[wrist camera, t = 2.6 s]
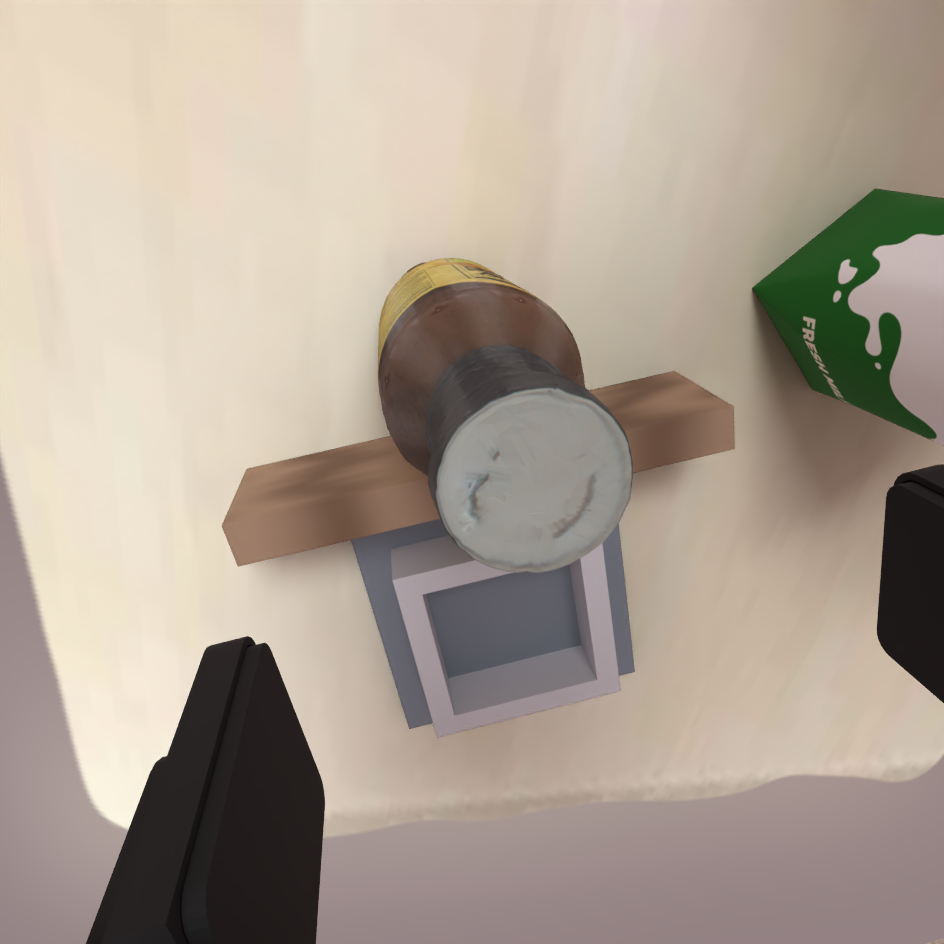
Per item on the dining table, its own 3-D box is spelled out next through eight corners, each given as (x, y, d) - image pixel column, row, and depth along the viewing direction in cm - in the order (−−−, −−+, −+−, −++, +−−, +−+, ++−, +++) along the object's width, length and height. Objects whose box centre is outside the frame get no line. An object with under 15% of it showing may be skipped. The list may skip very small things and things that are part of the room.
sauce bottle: (532, 343, 32) (744, 545, 14) (422, 409, 33) (489, 687, 14) (466, 221, 29) (621, 273, 11) (348, 296, 30) (315, 459, 12)
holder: (607, 459, 35) (632, 489, 32) (629, 663, 41) (653, 707, 37) (347, 520, 34) (345, 557, 31) (408, 719, 40) (412, 769, 37)
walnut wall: (674, 370, 34) (733, 406, 28) (676, 407, 34) (734, 449, 29) (246, 469, 32) (221, 525, 27) (259, 504, 33) (237, 566, 28)
